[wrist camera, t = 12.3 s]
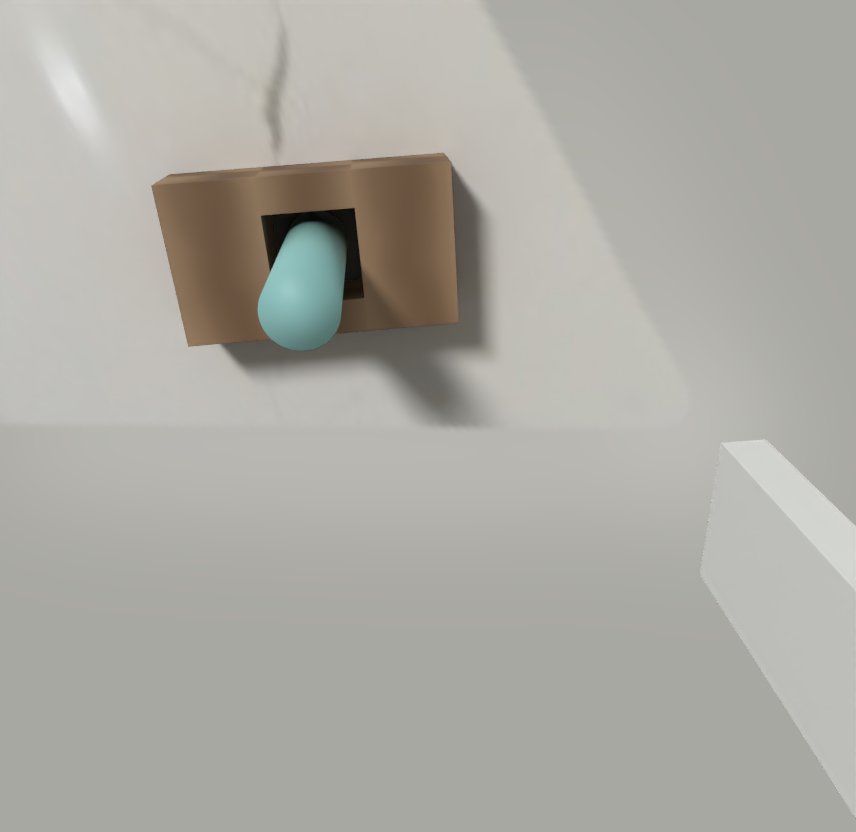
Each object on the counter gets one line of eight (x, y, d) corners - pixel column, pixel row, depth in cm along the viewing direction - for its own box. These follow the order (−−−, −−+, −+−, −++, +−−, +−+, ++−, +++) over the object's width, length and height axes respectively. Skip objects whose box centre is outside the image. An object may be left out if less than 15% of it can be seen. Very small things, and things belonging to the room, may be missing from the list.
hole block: (202, 323, 40) (188, 346, 37) (169, 174, 37) (151, 185, 34) (451, 302, 41) (458, 322, 38) (443, 152, 37) (451, 161, 34)
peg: (291, 272, 39) (263, 353, 29) (283, 212, 38) (252, 274, 27) (350, 268, 40) (344, 348, 29) (345, 209, 38) (337, 269, 27)
